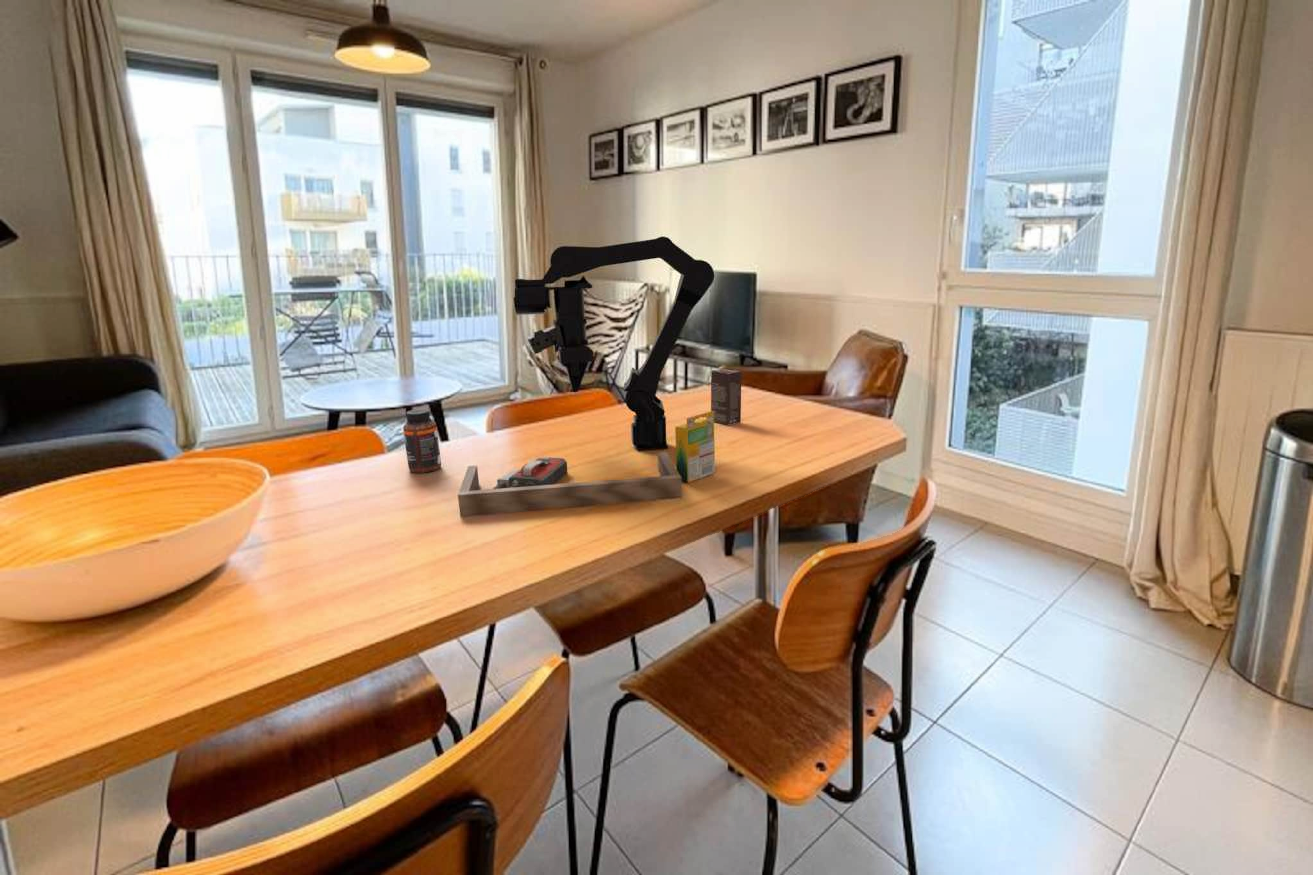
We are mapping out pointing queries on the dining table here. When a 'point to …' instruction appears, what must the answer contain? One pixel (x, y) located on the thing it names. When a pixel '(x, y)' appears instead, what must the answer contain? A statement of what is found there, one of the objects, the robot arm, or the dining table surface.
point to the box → (726, 396)
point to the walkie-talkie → (535, 473)
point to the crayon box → (695, 448)
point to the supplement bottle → (421, 442)
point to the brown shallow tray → (569, 492)
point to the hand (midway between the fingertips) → (575, 391)
